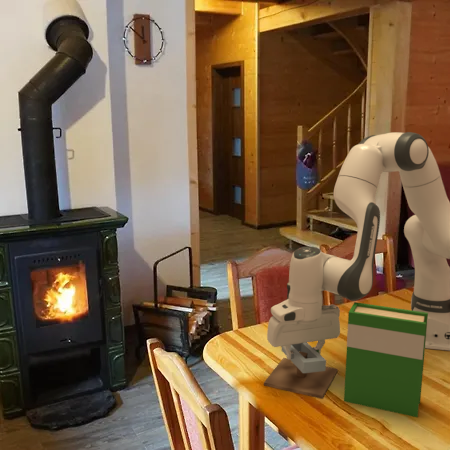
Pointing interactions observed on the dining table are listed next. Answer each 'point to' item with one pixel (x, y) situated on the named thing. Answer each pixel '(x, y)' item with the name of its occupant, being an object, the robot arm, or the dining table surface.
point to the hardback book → (385, 358)
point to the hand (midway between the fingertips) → (303, 356)
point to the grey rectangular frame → (313, 358)
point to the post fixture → (300, 379)
